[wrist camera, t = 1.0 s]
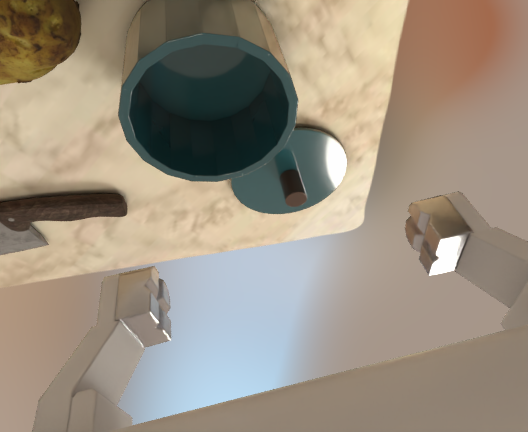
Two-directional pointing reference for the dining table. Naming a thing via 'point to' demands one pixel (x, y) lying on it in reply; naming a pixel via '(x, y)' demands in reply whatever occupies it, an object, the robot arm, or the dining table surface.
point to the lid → (294, 174)
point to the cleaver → (51, 216)
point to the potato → (36, 37)
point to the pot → (205, 89)
